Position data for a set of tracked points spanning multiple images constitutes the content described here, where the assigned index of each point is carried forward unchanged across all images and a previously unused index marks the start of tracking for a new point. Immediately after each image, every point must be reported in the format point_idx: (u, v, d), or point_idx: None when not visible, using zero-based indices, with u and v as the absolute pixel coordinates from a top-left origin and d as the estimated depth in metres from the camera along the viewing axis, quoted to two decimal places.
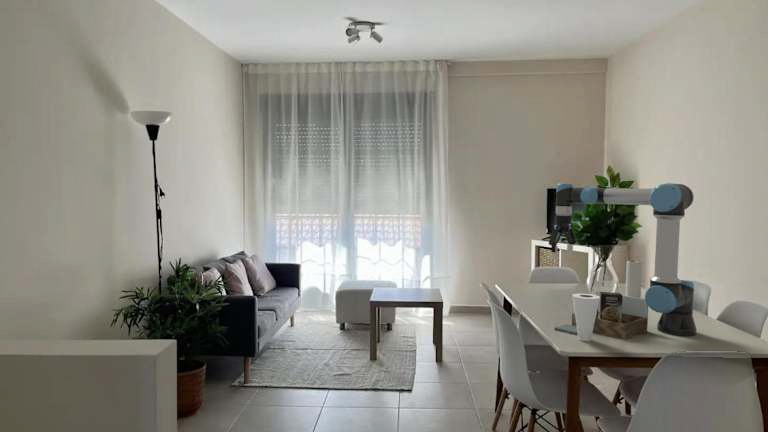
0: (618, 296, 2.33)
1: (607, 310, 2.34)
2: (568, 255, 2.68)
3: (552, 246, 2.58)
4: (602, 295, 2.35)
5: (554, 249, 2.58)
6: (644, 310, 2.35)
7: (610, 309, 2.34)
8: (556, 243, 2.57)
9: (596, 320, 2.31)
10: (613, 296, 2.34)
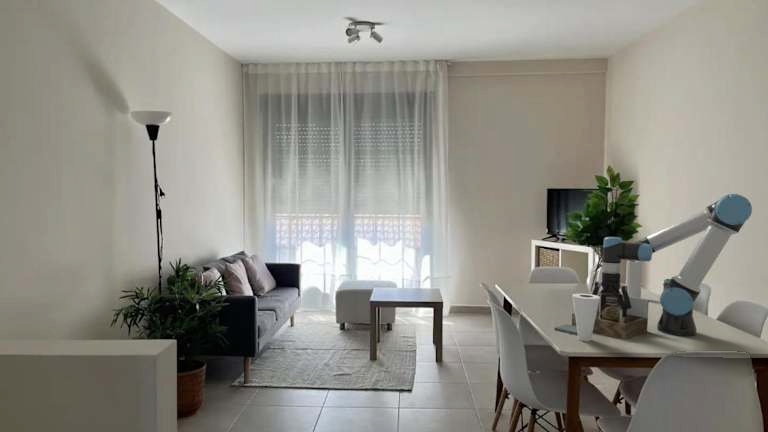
0: None
1: (607, 310, 2.34)
2: None
3: None
4: (602, 295, 2.35)
5: None
6: (644, 310, 2.35)
7: (610, 309, 2.34)
8: None
9: (596, 320, 2.31)
10: (613, 296, 2.34)
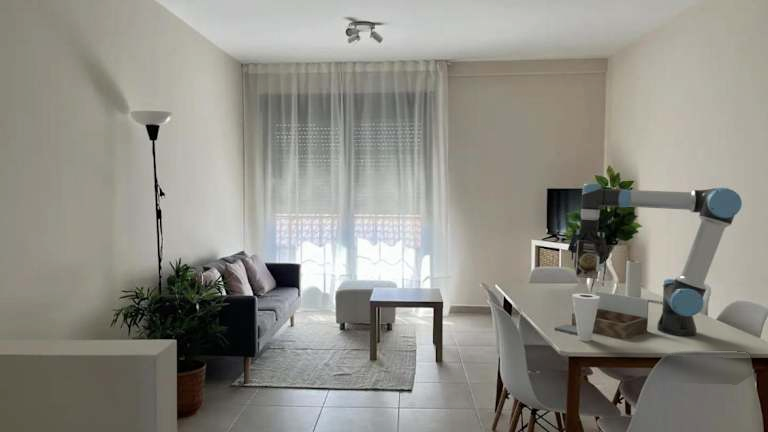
0: (596, 242, 2.30)
1: (584, 257, 2.31)
2: None
3: None
4: (580, 242, 2.32)
5: (572, 256, 2.39)
6: (644, 310, 2.35)
7: (587, 256, 2.31)
8: (573, 250, 2.38)
9: (596, 320, 2.31)
10: (591, 243, 2.31)
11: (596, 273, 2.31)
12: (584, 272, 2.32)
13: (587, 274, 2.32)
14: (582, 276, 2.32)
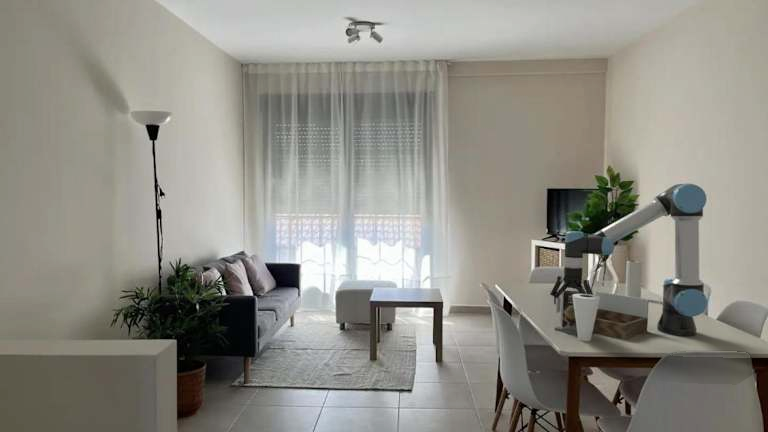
0: None
1: (570, 309, 2.30)
2: None
3: None
4: (565, 294, 2.31)
5: (555, 301, 2.39)
6: (644, 310, 2.35)
7: (572, 308, 2.30)
8: (556, 295, 2.38)
9: (596, 320, 2.31)
10: None
11: None
12: (569, 324, 2.31)
13: (573, 326, 2.31)
14: (568, 328, 2.31)
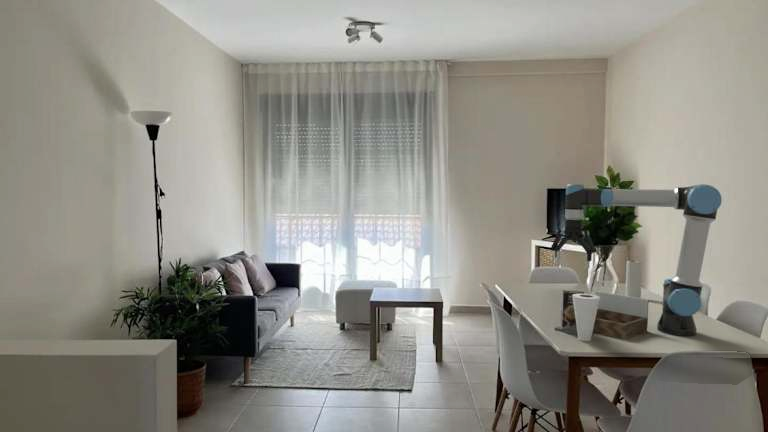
0: None
1: (570, 309, 2.30)
2: None
3: None
4: (565, 294, 2.31)
5: (555, 254, 2.43)
6: (644, 310, 2.35)
7: (572, 308, 2.30)
8: (556, 248, 2.42)
9: (596, 320, 2.31)
10: None
11: None
12: (569, 324, 2.31)
13: (573, 326, 2.31)
14: (568, 328, 2.31)
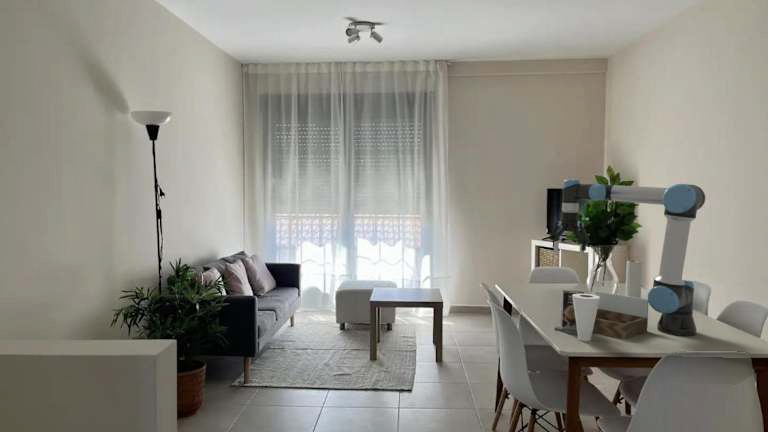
0: None
1: (570, 309, 2.30)
2: None
3: None
4: (565, 294, 2.31)
5: (553, 244, 2.63)
6: (644, 310, 2.35)
7: (572, 308, 2.30)
8: (554, 239, 2.62)
9: (596, 320, 2.31)
10: None
11: None
12: (569, 324, 2.31)
13: (573, 326, 2.31)
14: (568, 328, 2.31)
